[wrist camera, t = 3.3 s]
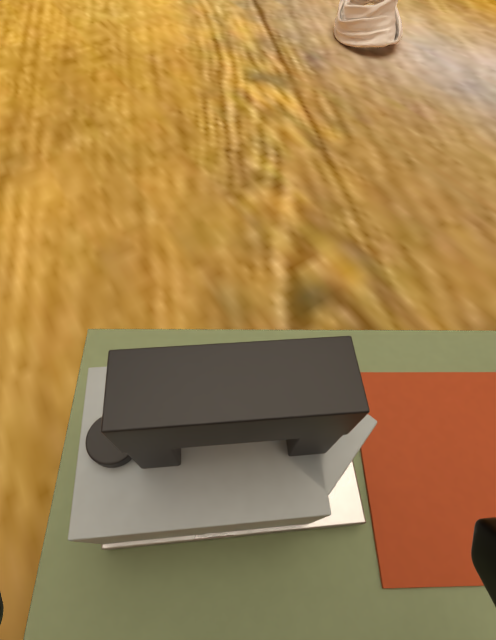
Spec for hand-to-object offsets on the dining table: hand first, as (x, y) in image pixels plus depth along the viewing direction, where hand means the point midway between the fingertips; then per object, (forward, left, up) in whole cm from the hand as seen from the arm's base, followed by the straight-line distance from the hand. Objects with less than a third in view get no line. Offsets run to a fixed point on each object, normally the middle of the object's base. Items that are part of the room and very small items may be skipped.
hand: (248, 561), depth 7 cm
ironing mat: (+6, -3, -11) cm, 13 cm away
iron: (+3, +2, -11) cm, 12 cm away
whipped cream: (+47, +11, -12) cm, 49 cm away
